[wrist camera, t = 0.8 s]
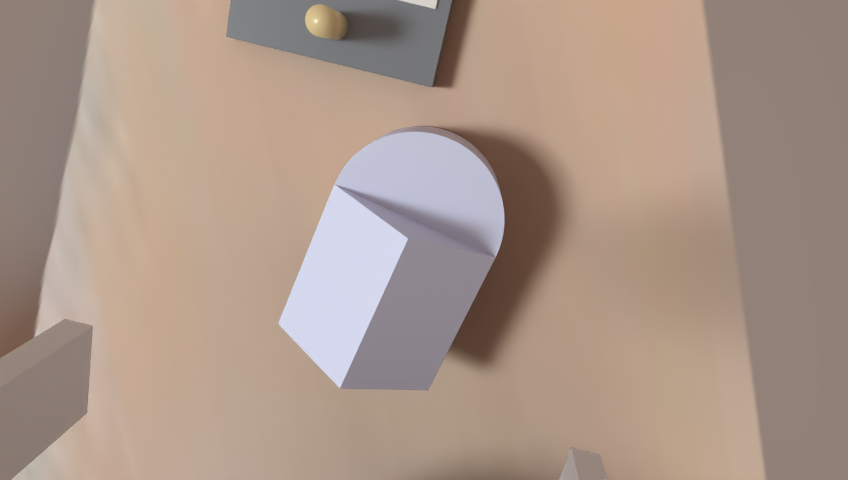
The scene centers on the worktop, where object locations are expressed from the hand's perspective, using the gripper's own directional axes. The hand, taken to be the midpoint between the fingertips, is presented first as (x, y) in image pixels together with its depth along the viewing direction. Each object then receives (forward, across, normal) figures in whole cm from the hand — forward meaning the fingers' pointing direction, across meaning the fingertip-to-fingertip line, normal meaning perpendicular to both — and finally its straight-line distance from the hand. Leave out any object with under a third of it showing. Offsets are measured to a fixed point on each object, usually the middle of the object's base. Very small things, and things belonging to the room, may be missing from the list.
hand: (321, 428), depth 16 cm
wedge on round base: (+19, 0, 0) cm, 19 cm away
